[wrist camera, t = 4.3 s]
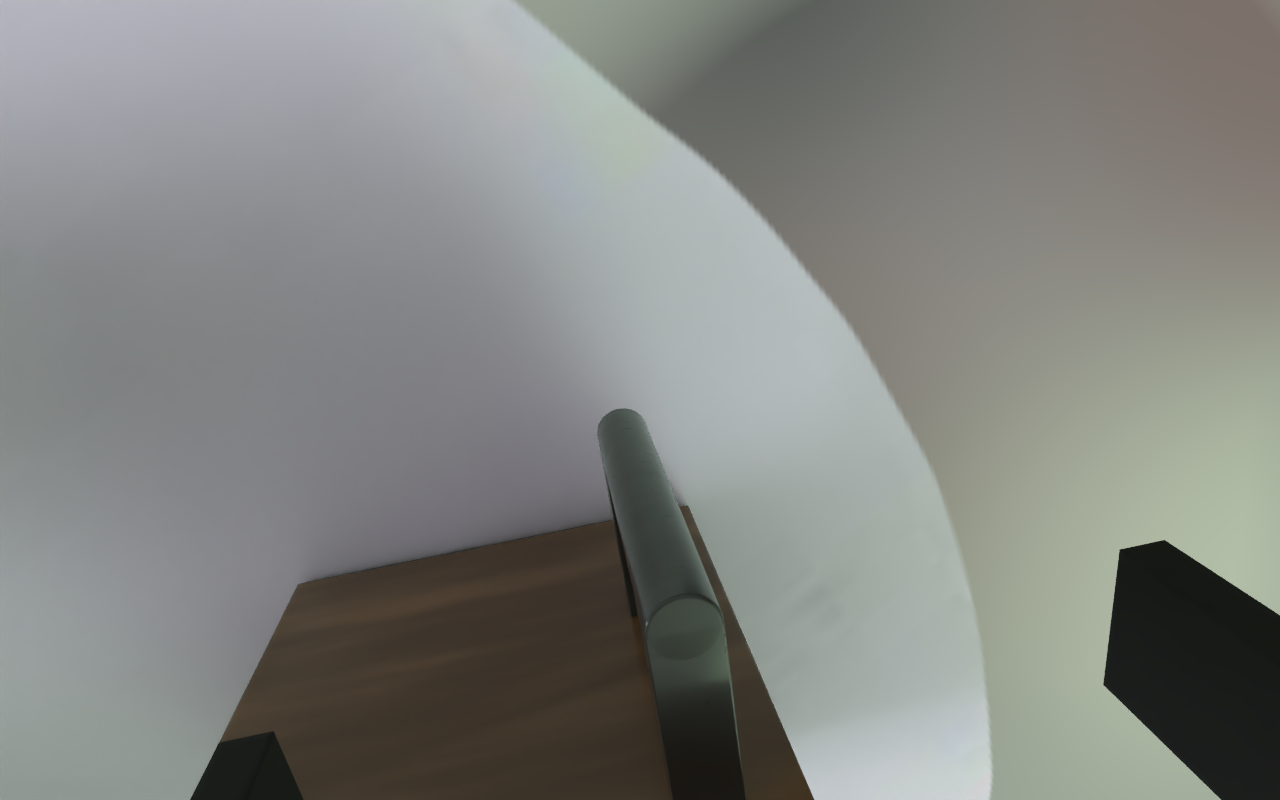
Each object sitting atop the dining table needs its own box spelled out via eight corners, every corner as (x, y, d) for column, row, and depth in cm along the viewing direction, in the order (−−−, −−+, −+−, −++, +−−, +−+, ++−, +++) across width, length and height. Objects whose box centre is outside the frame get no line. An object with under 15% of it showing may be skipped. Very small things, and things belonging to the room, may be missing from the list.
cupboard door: (238, 429, 26) (-403, 1103, 8) (667, 350, 28) (937, 777, 10) (305, 604, 29) (-60, 1391, 11) (690, 524, 31) (933, 1109, 12)
